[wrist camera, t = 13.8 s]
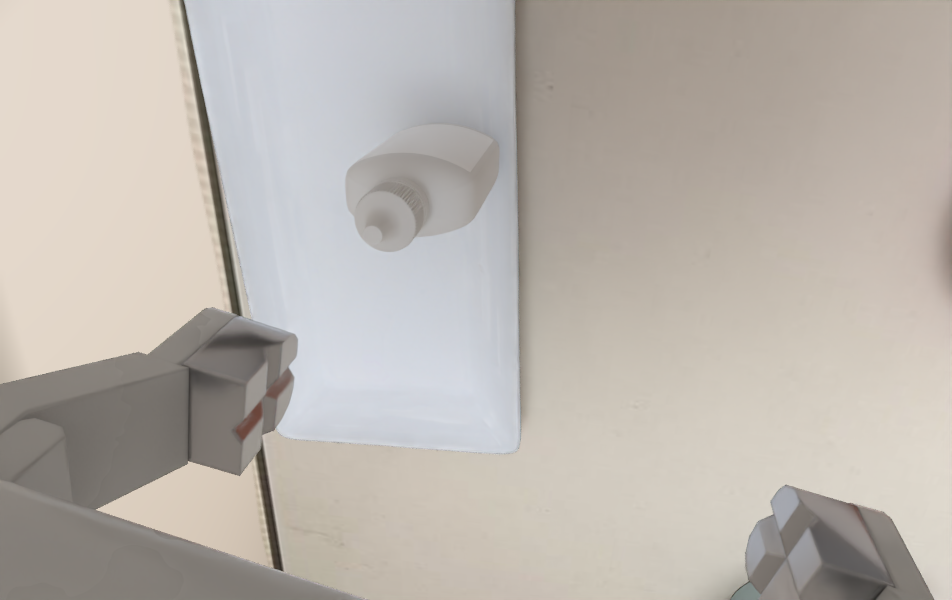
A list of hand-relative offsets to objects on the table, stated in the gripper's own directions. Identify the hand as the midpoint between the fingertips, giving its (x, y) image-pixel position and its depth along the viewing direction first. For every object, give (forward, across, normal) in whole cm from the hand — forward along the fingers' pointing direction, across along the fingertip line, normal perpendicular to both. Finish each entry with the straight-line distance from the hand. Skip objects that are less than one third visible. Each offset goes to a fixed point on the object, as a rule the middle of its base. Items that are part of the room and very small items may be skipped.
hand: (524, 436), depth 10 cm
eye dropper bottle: (+24, +6, +3) cm, 25 cm away
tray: (+27, +10, +8) cm, 30 cm away
